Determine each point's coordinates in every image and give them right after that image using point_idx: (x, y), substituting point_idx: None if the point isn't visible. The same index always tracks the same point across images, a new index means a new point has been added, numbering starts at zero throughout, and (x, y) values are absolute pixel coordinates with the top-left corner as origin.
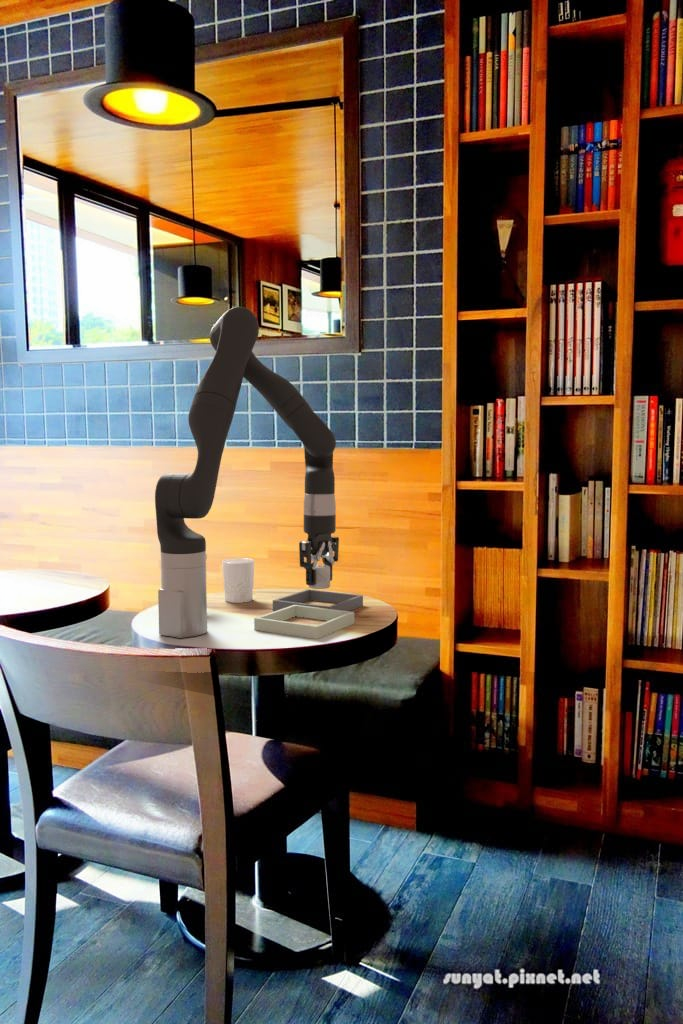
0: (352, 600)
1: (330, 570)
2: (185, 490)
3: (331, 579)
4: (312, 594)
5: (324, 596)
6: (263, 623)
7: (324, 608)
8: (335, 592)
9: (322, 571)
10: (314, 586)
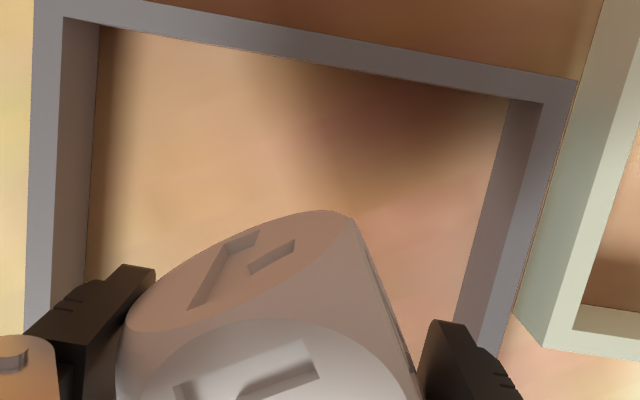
0: (224, 17)
1: (114, 318)
2: None
3: (136, 267)
4: None
5: None
6: None
7: (618, 109)
8: (32, 239)
9: (392, 335)
10: (398, 324)
